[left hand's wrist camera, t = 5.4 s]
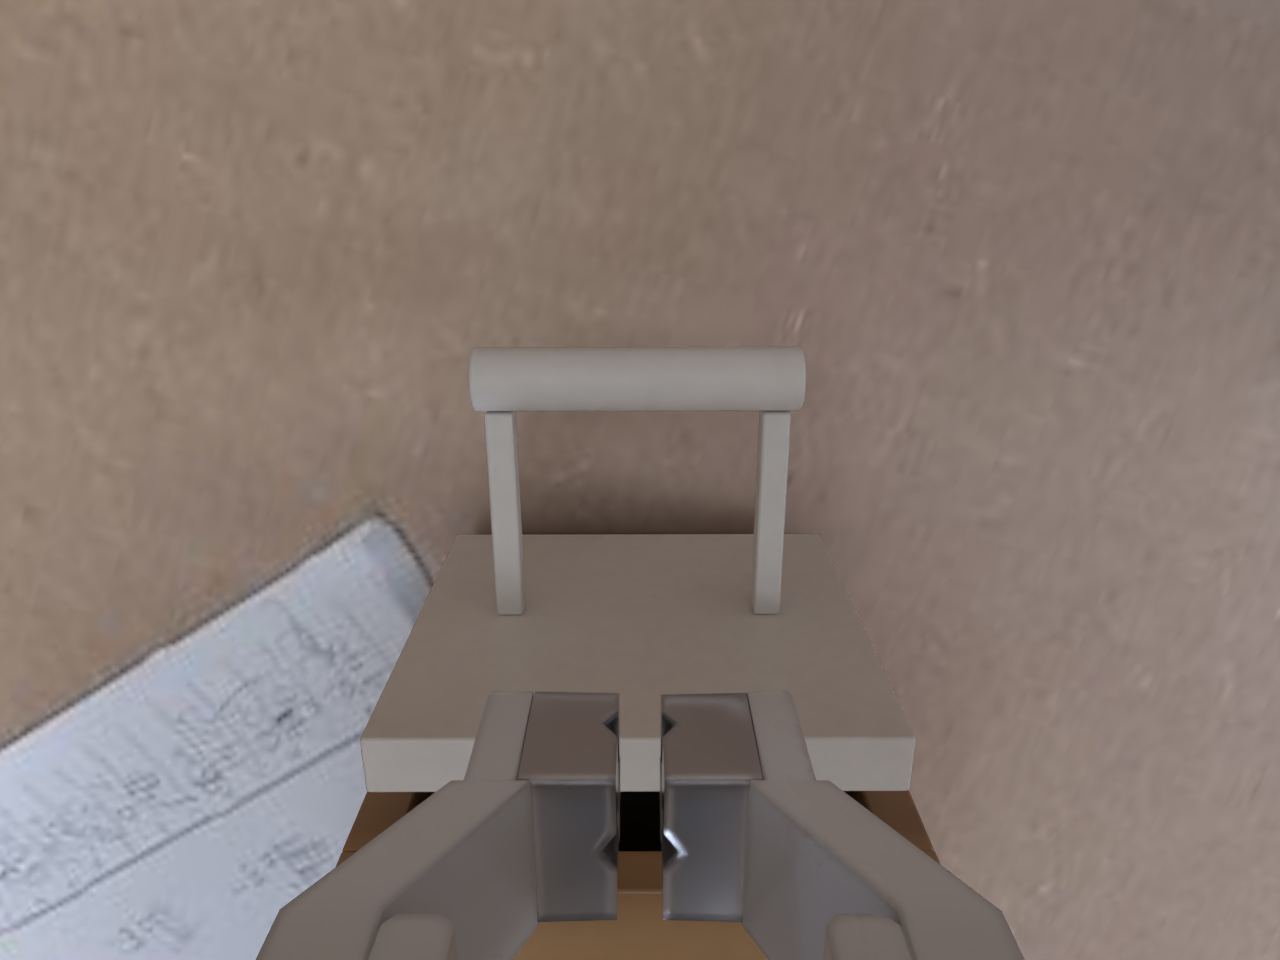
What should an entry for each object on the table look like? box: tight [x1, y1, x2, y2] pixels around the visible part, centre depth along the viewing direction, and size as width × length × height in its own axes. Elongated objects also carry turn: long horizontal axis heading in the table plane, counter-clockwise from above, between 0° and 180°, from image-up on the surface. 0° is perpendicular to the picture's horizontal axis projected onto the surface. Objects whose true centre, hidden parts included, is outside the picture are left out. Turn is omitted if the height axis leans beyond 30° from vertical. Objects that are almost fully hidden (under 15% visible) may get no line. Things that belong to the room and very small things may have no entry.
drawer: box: [360, 347, 916, 851], centre depth 22 cm, size 23×10×9 cm, turn 0°
